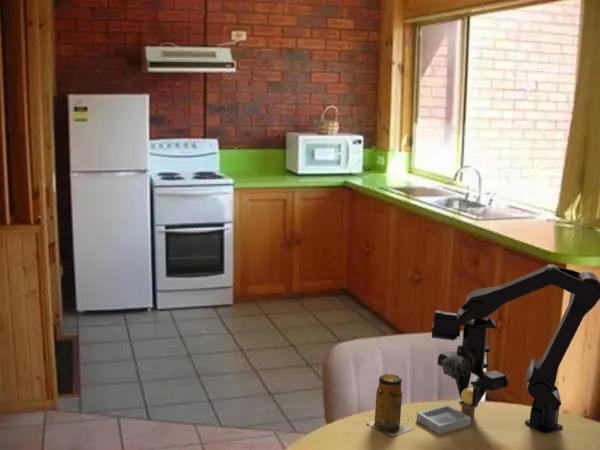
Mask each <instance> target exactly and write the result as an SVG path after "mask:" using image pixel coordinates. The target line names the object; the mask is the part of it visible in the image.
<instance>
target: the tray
mask: <svg viewBox="0 0 600 450" xmlns="http://www.w3.org/2000/svg"><path fill="white" fill-rule="evenodd" d="M471 420H472V418H471V417H469V416H467V415H466V414H464V413H462V412H461V411H460V410H458V409H456V408H455V407H453V406H451V405H450V404H445V405H440V406H437V407H433V408H430V409H425V410H422V411H419V412H416V421H417V422H419V423H420V424H422V425H423V426H426V427H427V428H428V429H430V430H431V431H434V432H435V433H436V434H438V435H441V434H444V433H448V432H451V431H455V430H459V429H462V428H466V427H469V426H471Z"/></svg>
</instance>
